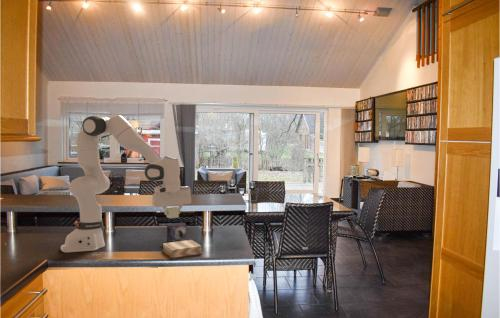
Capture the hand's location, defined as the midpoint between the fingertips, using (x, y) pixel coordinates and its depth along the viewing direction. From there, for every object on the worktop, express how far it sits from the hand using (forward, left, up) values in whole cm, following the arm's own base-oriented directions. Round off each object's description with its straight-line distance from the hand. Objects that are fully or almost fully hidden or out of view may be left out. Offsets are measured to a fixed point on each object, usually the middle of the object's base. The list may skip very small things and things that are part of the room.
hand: (172, 214), depth 220 cm
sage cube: (0, 0, -2) cm, 2 cm away
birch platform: (+4, -2, -20) cm, 21 cm away
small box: (+8, +18, -21) cm, 29 cm away
